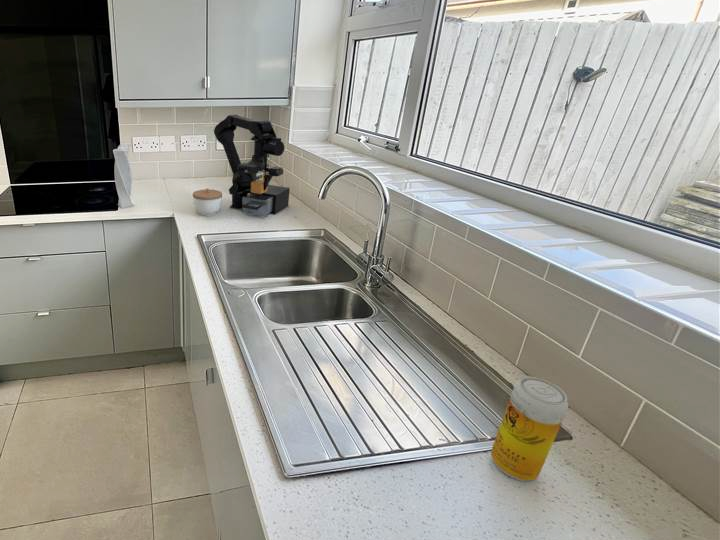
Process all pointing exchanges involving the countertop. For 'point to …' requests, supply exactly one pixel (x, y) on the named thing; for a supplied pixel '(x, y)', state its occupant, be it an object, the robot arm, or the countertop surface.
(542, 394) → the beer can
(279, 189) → the drawer box
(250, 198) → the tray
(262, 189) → the wooden block
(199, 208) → the lidded bowl
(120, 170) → the skyscraper
